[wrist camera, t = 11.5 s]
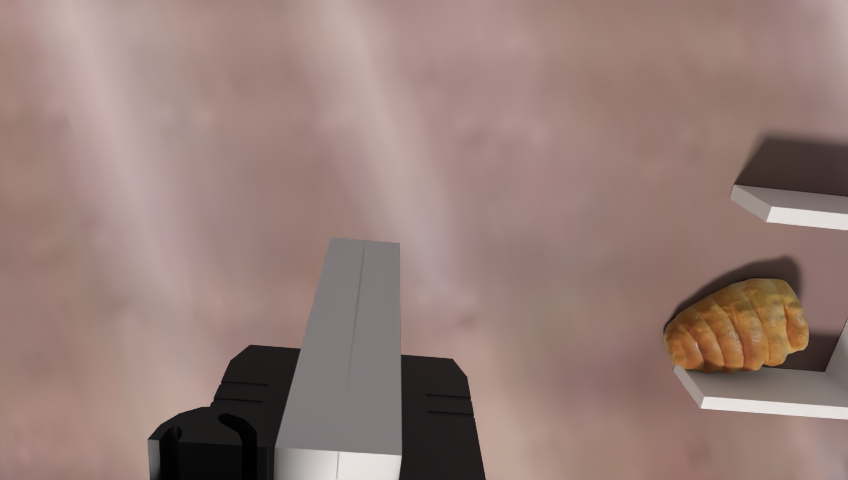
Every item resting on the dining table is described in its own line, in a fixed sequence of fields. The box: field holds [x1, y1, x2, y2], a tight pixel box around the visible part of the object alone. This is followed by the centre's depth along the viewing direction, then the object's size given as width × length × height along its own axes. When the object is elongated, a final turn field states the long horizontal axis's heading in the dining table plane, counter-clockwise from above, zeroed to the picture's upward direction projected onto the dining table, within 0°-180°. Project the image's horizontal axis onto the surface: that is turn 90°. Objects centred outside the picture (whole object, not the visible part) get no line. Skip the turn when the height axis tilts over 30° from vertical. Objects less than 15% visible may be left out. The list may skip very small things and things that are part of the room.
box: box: [674, 185, 848, 419], centre depth 42 cm, size 15×13×4 cm
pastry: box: [663, 278, 809, 374], centre depth 44 cm, size 9×7×4 cm
